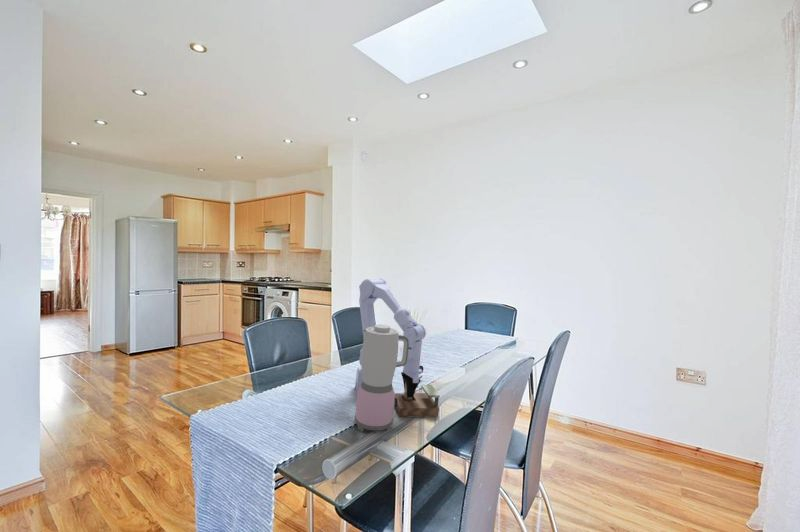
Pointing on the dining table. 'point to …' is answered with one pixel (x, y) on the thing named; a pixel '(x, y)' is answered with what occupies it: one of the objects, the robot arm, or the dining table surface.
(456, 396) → the dining table surface
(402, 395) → the socket deck
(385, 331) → the blender
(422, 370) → the eagle figurine
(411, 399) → the peg
